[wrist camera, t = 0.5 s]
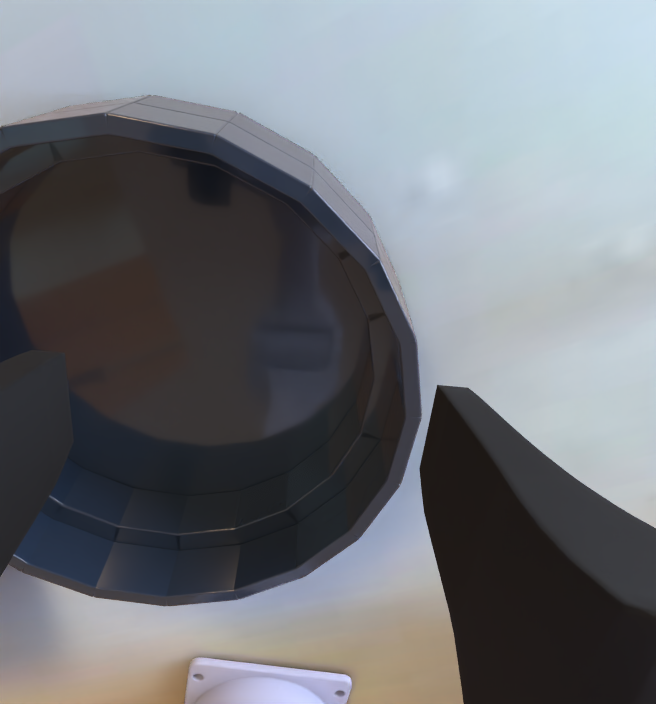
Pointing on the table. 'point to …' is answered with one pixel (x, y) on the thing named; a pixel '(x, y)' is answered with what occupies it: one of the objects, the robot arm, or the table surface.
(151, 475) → the dark round bowl
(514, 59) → the table surface
